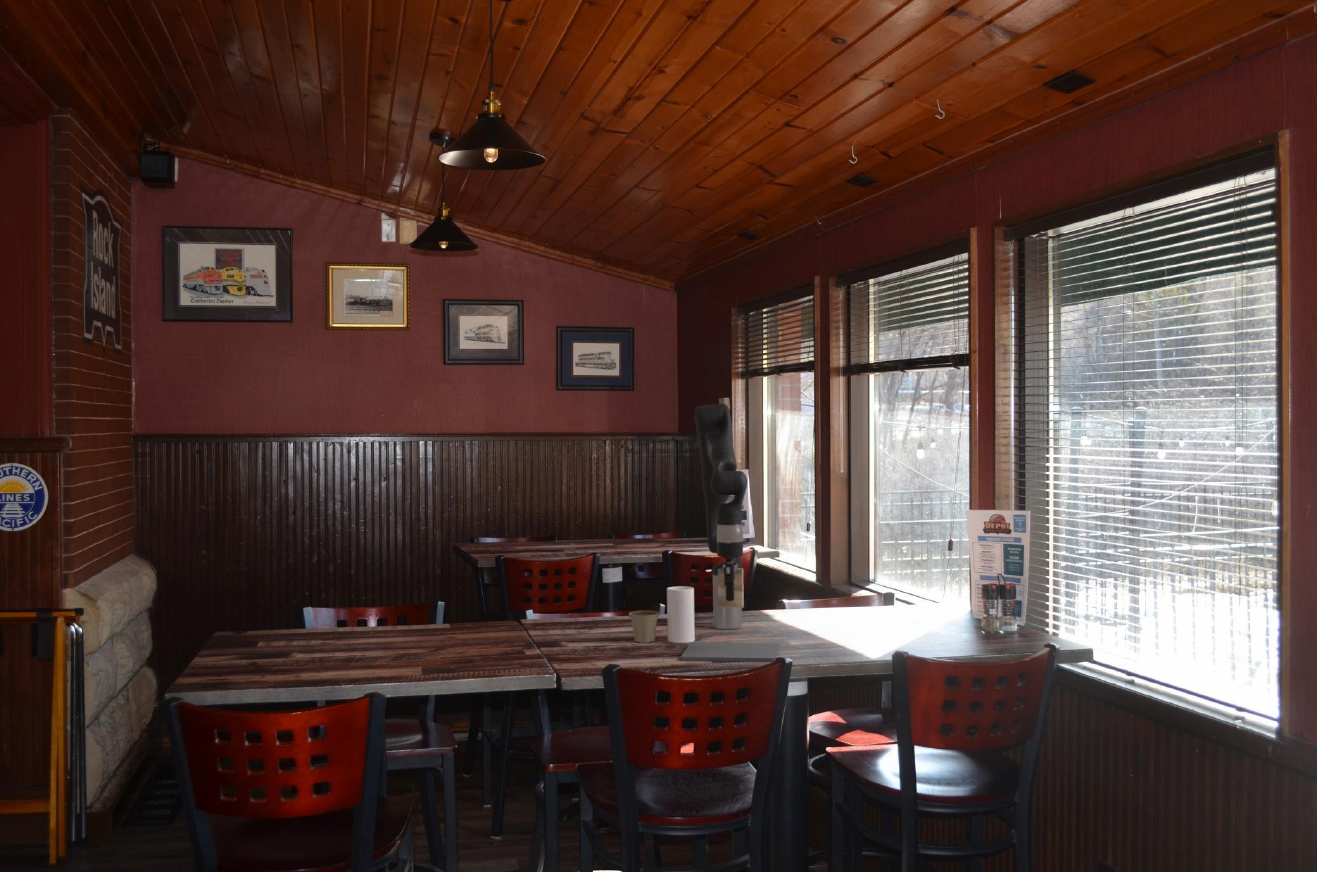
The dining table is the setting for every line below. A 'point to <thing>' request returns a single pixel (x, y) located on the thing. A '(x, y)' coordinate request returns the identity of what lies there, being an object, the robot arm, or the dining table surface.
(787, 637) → the dining table surface
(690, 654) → the mat
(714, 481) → the robot arm
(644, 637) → the flower pot
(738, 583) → the block
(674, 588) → the white cylinder
